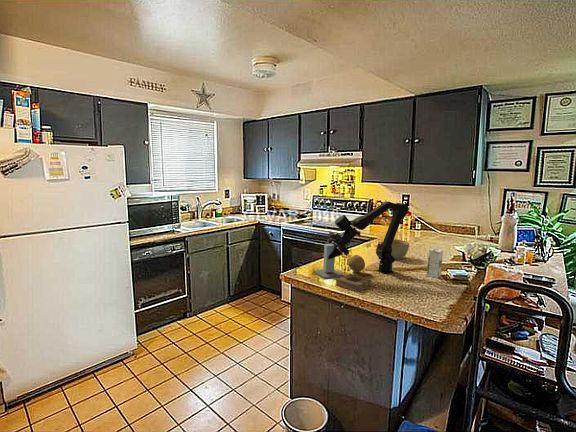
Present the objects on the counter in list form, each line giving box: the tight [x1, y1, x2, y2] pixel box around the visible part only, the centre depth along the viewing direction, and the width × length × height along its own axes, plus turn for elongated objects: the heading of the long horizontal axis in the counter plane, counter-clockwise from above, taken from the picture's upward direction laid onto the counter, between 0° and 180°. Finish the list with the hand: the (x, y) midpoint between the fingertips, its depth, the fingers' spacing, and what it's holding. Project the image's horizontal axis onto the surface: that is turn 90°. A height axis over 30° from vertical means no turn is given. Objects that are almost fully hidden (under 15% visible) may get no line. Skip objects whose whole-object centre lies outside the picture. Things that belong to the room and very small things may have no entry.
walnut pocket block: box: [335, 273, 372, 293], centre depth 158 cm, size 12×12×3 cm
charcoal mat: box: [312, 269, 345, 280], centre depth 175 cm, size 12×12×1 cm
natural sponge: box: [347, 254, 366, 274], centre depth 179 cm, size 9×9×10 cm
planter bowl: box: [382, 238, 411, 261], centre depth 212 cm, size 16×16×11 cm
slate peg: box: [322, 243, 336, 272], centre depth 174 cm, size 4×4×14 cm
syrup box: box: [426, 248, 444, 279], centre depth 175 cm, size 6×6×14 cm
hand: (326, 257), depth 173 cm, fingers closed on slate peg, 4 cm apart
